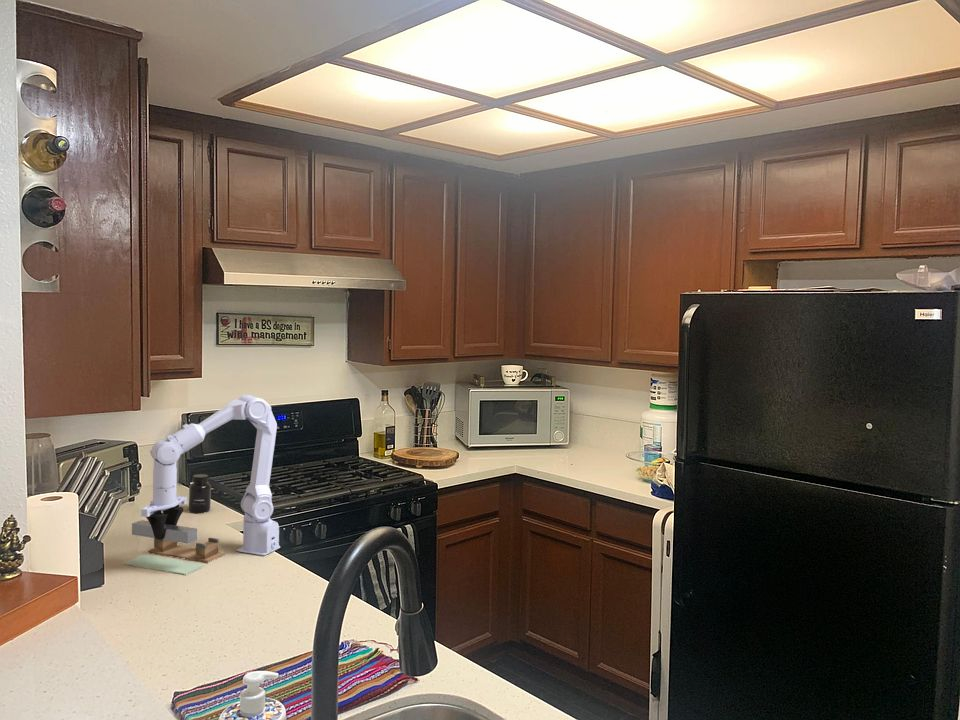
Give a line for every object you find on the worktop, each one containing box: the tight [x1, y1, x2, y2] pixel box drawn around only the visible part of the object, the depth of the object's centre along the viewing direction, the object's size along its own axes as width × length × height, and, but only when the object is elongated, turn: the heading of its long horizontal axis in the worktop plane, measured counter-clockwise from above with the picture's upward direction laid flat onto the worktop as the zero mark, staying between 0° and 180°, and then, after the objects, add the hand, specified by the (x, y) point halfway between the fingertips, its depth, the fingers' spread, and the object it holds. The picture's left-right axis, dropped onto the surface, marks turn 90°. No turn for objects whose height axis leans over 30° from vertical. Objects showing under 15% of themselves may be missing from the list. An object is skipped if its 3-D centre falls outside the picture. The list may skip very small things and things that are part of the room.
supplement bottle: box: [188, 473, 212, 514], centre depth 244 cm, size 7×7×12 cm
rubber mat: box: [123, 554, 205, 576], centre depth 193 cm, size 20×7×1 cm, turn 72°
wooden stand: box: [147, 537, 226, 564], centre depth 202 cm, size 20×7×5 cm, turn 72°
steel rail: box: [131, 519, 198, 545], centre depth 192 cm, size 18×4×3 cm, turn 72°
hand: (164, 536), depth 192 cm, fingers closed on steel rail, 3 cm apart
